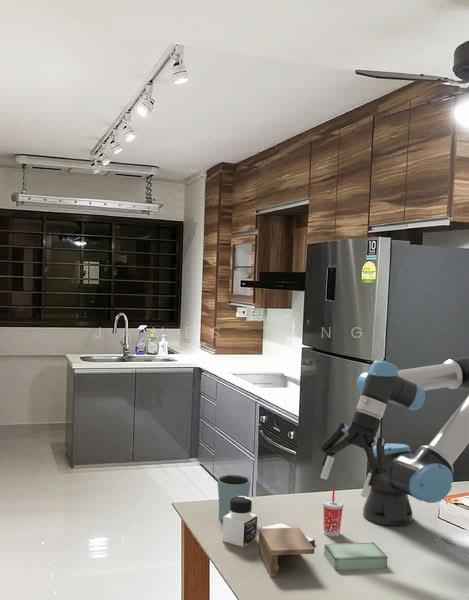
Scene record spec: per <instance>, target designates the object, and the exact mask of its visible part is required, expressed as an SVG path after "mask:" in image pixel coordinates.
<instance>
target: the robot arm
mask: <svg viewBox="0 0 469 600" xmlns="http://www.w3.org/2000/svg"><path fill="white" fill-rule="evenodd" d="M356 387H357V390H358V393H360V398H359V401H358V403H357V405H356V409H357V410H356V411H355V412H354V414H353V416H352V420H351V424H350V426H348V424H345V423H343V422H341V423H340V424H339V427H338V428H337V429H336V431H335V432H334V433H333V434H332V435H331V437H330V438H329V439H328V440H326V441H325V443H324V444H322V446H321V448H320V449H321V451H323V452H324V454H325V455H324V458H323V462H322V466H323V469H322V471H321V474H320V477H319V478H321V479H323V480H328V478H329V475H330V473H331V470H332V467H333V465H334V461H335V457H334V456H335V455H336V454H338V453H339V452H340V451H342V450H344V449H345V448H347V447H348V446H350V445H353V446H356V447H359V448H362V449H364V450H363V451H365V454H366V458H367V461H368V464H369V467H370V472H368V474H367V476H366V479H365V482H364V486H363V488H362V489H361V491H362V492H361V494H360V496H361V497H363V498H366V500H365V503H364V505H363V509H362V515H363V517H364V519H366V520H368V521H369V522H372V523H374V524H378V525H382V526H387V527H404V526H408V525H410V524H411V523H412V522H413V515H414V514H413V513H414V512H413V510H412V507H411V503H410V499H409V496H410V497H413V498H415V500H417V501H422V502H425V503H429V504H433V503H438V502H441V501H442V500H444V499H445V498H446V497H447V496H448V495H449V493H450V492H451V490H452V487H453V485H452V484H453V483H454V478H453V473H454V470H455V469H454V465H453V464H454V463H455V461H456V460H457V459H458V458H459V456H460V455H461V454H462V453H463V451H464V450H465V449H466V447H467V446H468V445H469V394H467V396H466V398H465V399H464V400H463V402H462V403H461V404H460V405H459V406H458V408H457V409H456V410H455V412H453V414H452V415H451V416H450V418H449V419H448V420H447V421H446V422H445V424H444V425H443V426H442V428H441V429H440V430H439V431H438V433H436V435H435V436H434V438H432V440H430V443H429V444H428V445H421V446H420V447H419V448H418V449H417V450H416V451H415V452H414V453H413V454H412V453H411V447H410V446H409V445H408V444H405V443H386V442H387V441H386V439H385V438H383V437H381V436H379V437H378V436H377V433H378V431H379V429H380V426H381V423H382V421H381V419H382V418H384V417H383V416H384V413H385V411H386V408H387V405H388V403H390V404H394V405H397V406H401V407H402V408H404V409H407V410H410V411H417V410H419V409H421V407H422V406H423V405H424V403H425V400H426V391H431V390H436V389H438V390H439V389H443V388H448V389H450V390H457V389H461V390H468V391H469V356H467V357H466V356H465V357H460V358H459V357H458V358H454V359H447V360H445V361H443V363H440V364H434V365H426V366H421V367H418V366H417V367H413V368H405V369H400V370H399V367H398V366H397V365H395V364H393V363H391V362H388V361H384V360H381V359H375V360H374V361H373V362H372V364H371V366H370V368H369V370H368V371H365V372H362V373H360V375H359V376H358V377H357V380H356ZM347 433H348V435H347V436H345V437H344V435H345V434H347ZM342 437H344V438H343V439H342ZM340 439H342V440H341V441H340ZM373 443H375V445H374V446H373ZM408 495H409V496H408Z"/></svg>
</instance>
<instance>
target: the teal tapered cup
mask: <svg viewBox="0 0 469 600" xmlns="http://www.w3.org/2000/svg"><path fill="white" fill-rule="evenodd" d="M250 488H251V479H250V478H249V477H247V476H244V475H239V474H226V475H221V476H219V477H217V493H218V495H217V496H218V519H219V520H220V521H221V522H223V517H224V516H225V515H227V514H229V513H230V500H231V498H233V497H236V496H245V497H248V498H250V497H249V495H250Z"/></svg>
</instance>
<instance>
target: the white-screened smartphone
mask: <svg viewBox="0 0 469 600" xmlns="http://www.w3.org/2000/svg"><path fill="white" fill-rule="evenodd" d="M267 528H293V527H292V526H289V525H287V524H286V523H283V522H278V523H274V524H269V525H264V526H261V527H260V528H259V529H267ZM304 535H305V536H306V538H307V539H308V540H309V542H310V543H311V545H312V546H313V547H314V545H315V544H316V540H315V539H314V538H313V537H311V536H308V535H306V534H305V533H304Z"/></svg>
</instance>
